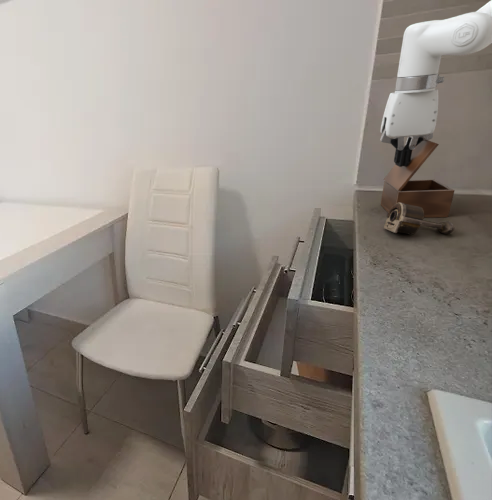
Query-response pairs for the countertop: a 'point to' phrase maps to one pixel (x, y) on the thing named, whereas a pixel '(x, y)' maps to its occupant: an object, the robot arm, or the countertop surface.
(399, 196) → the keepsake box
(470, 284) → the countertop surface
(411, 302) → the countertop surface
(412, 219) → the security camera
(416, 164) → the lid
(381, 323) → the countertop surface
